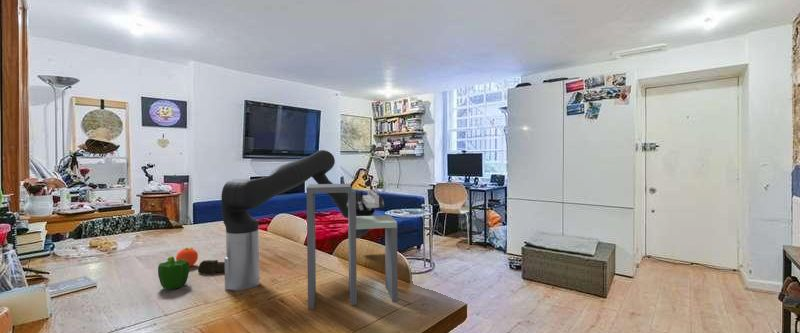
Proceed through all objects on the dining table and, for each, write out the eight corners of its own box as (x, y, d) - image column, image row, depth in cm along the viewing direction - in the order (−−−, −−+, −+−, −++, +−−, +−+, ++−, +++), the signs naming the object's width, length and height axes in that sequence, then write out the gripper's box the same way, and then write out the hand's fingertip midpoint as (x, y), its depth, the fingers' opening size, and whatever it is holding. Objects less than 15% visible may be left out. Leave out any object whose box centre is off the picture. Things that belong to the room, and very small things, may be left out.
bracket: (367, 207, 101) (366, 195, 101) (361, 199, 120) (360, 189, 120) (379, 207, 102) (378, 195, 101) (371, 199, 121) (370, 189, 121)
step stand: (308, 309, 91) (306, 187, 90) (310, 292, 103) (309, 184, 102) (397, 301, 96) (396, 185, 95) (390, 285, 107) (389, 182, 107)
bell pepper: (173, 281, 112) (173, 251, 112) (195, 283, 111) (194, 252, 110) (150, 291, 104) (149, 258, 104) (173, 293, 102) (172, 259, 102)
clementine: (183, 263, 132) (183, 244, 132) (202, 262, 133) (202, 244, 132) (172, 270, 124) (171, 250, 124) (192, 269, 125) (192, 249, 124)
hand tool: (257, 269, 125) (257, 256, 125) (253, 273, 121) (253, 259, 121) (202, 271, 123) (202, 258, 123) (196, 275, 119) (196, 262, 119)
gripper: (344, 203, 131) (346, 183, 116) (381, 202, 133) (387, 183, 118) (345, 222, 127) (346, 204, 112) (383, 221, 130) (389, 203, 115)
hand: (367, 193), depth 115 cm, fingers closed on bracket, 3 cm apart
